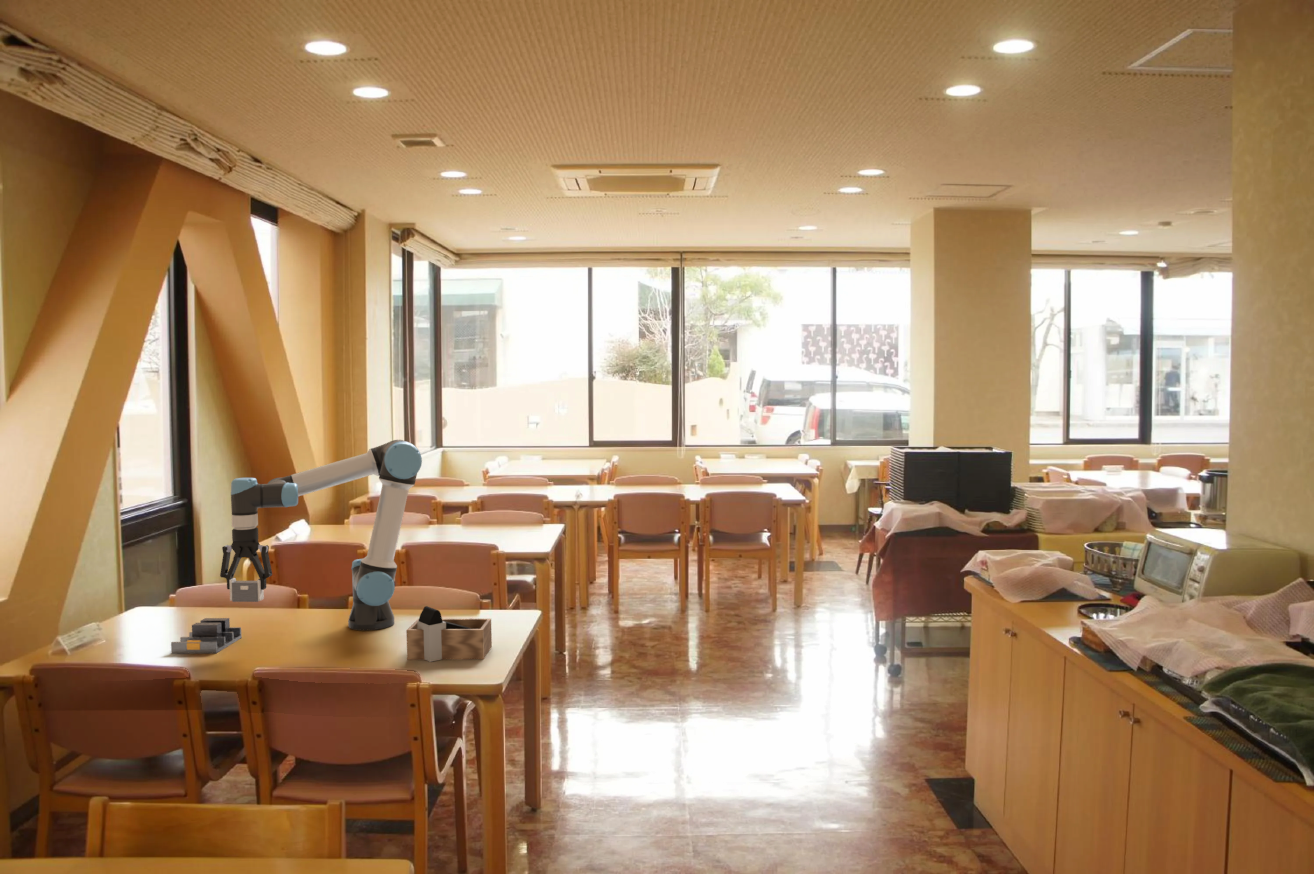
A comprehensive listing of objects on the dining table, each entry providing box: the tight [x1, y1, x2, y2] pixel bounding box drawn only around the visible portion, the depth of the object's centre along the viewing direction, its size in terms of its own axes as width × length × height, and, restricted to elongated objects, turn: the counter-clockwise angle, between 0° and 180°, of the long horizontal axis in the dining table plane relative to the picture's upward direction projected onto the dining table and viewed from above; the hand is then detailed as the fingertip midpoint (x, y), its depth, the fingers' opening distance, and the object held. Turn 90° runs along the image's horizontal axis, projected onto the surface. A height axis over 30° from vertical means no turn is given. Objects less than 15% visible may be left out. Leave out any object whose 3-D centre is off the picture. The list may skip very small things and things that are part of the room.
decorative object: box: [417, 605, 472, 663], centre depth 293 cm, size 8×18×15 cm, turn 132°
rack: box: [170, 617, 242, 655], centre depth 304 cm, size 14×17×7 cm
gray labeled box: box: [232, 580, 259, 603], centre depth 299 cm, size 8×3×6 cm, turn 89°
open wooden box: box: [405, 618, 493, 661], centre depth 293 cm, size 23×13×9 cm, turn 89°
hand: (247, 599), depth 299 cm, fingers closed on gray labeled box, 8 cm apart
